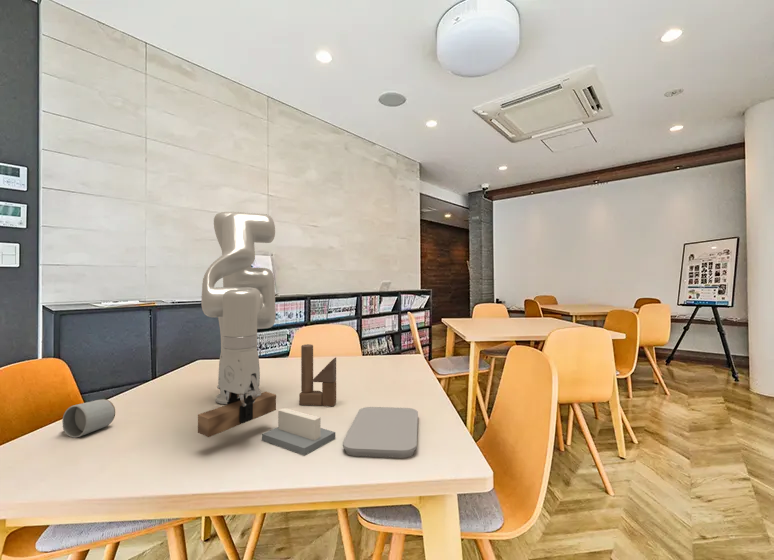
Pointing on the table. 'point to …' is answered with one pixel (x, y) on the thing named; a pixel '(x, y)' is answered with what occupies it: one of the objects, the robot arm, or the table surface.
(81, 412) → the grey hollow cylinder
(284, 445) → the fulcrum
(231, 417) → the walnut bar
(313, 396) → the brown wooden block stack
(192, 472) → the table surface
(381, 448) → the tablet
